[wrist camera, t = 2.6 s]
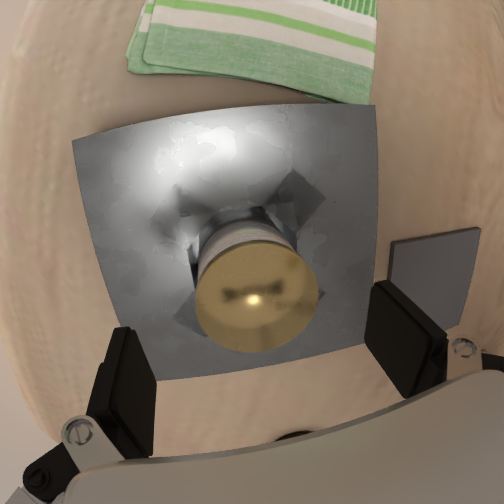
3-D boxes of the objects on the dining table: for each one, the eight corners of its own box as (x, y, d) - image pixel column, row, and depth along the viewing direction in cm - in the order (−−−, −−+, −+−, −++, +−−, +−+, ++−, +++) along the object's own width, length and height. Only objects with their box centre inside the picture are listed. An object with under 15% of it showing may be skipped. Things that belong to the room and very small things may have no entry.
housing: (344, 108, 20) (375, 105, 15) (344, 313, 27) (365, 342, 23) (97, 138, 18) (71, 140, 14) (150, 346, 25) (145, 381, 21)
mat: (477, 226, 26) (481, 228, 25) (456, 321, 31) (458, 324, 30) (391, 242, 25) (394, 244, 24) (375, 351, 30) (378, 354, 29)
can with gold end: (275, 196, 20) (318, 237, 13) (280, 271, 23) (317, 340, 15) (191, 208, 20) (183, 257, 12) (204, 283, 22) (208, 360, 14)
